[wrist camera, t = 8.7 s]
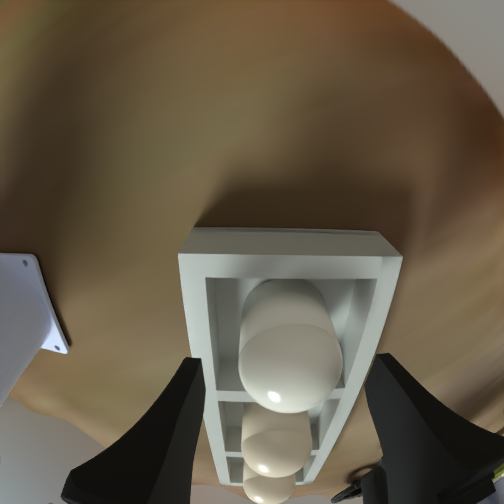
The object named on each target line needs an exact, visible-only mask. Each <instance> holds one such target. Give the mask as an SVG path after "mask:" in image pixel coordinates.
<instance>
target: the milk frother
mask: <svg viewBox="0 0 504 504" xmlns="http://www.w3.org/2000/svg"><path fill="white" fill-rule="evenodd" d="M379 465H380V467H378V468H374V469H372V470H371V471H369V472H368V473H366V474H365V475H364V476H363V477H362V478H361V480H360V481H355V482H354V483H353V484H352V485H351V486H350V487H348V488H346V489H345V490H343V491H342V492H340V493H338V494H337V495H336V496H334V497H333V498H332V499H331V502H332V503H337V502H340V501H342V500H346V499H352V498H355V497H361V496H362V495H363V504H388V486H387V477H386V469H385V462H384V457H383V458H382V459H381V460H380V462H379Z"/></svg>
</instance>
